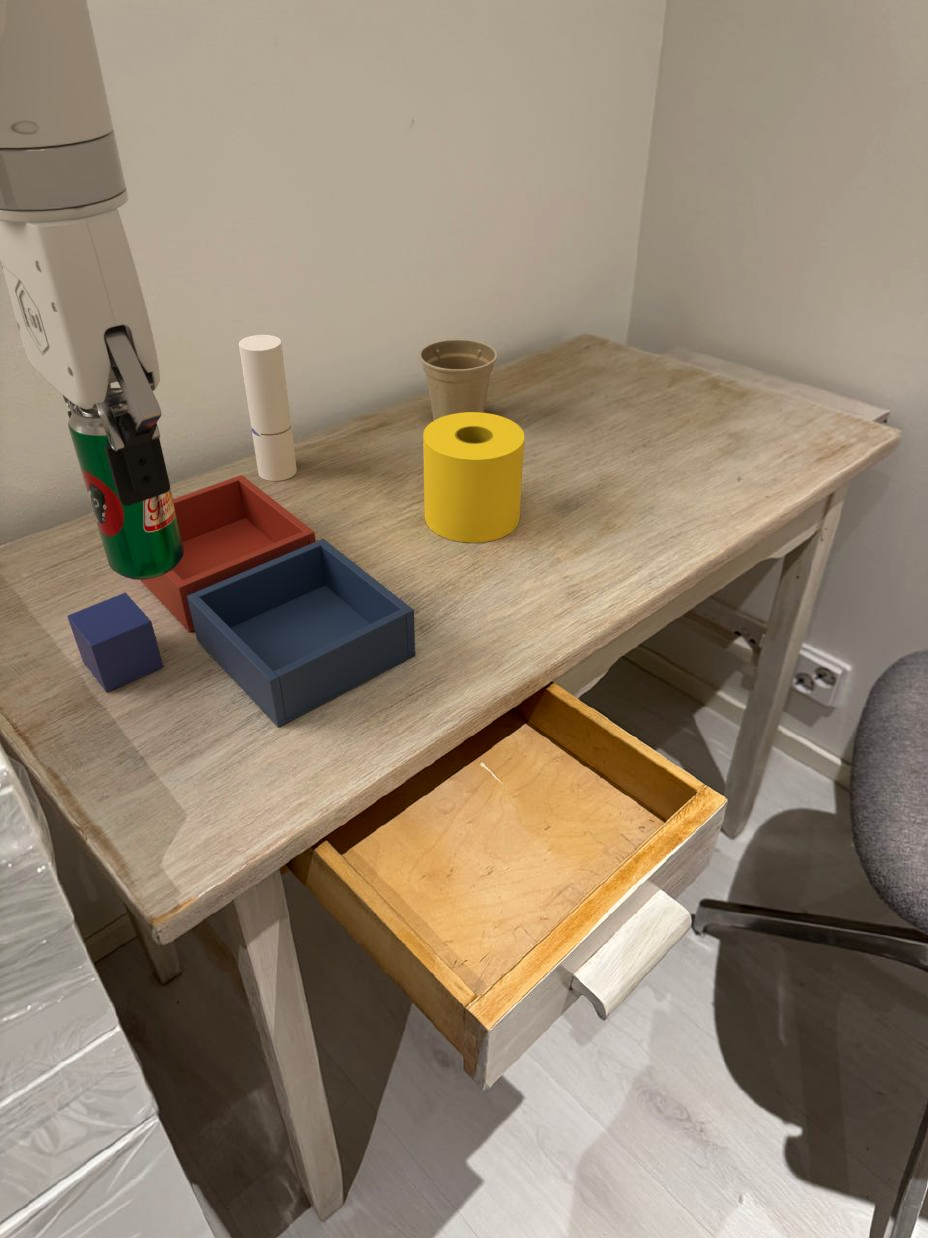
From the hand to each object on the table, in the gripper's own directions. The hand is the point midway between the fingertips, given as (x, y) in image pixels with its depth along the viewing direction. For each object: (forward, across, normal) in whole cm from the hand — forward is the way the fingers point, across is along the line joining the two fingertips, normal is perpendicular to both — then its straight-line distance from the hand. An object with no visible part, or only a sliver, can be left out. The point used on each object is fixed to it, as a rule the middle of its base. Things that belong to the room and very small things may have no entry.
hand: (126, 476), depth 58 cm
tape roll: (+22, -8, +36) cm, 43 cm away
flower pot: (+22, -26, +49) cm, 60 cm away
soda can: (+7, 0, 0) cm, 7 cm away
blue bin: (+21, -1, +11) cm, 24 cm away
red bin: (+21, -16, +11) cm, 29 cm away
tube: (+22, -29, +25) cm, 44 cm away
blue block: (+21, -8, -2) cm, 23 cm away
